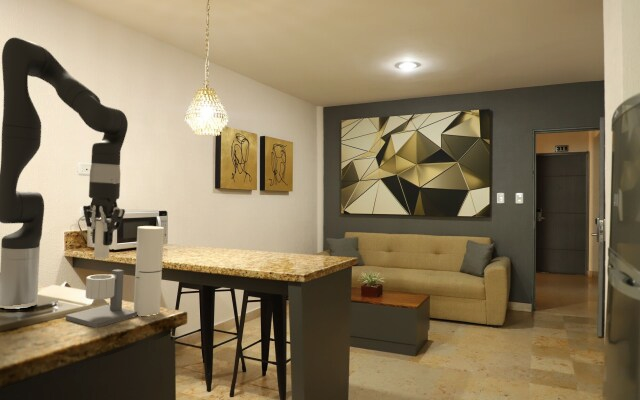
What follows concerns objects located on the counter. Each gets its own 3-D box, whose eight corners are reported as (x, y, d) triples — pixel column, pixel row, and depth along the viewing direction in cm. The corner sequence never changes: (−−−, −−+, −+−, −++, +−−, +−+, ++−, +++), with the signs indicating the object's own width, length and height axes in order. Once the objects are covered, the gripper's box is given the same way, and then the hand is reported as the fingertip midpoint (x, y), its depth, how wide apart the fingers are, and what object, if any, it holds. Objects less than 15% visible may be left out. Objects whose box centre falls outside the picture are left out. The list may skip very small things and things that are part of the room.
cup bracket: (65, 319, 120) (67, 273, 120) (106, 308, 132) (108, 266, 132) (96, 328, 115) (99, 279, 115) (136, 315, 127) (138, 272, 127)
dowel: (91, 257, 122) (92, 220, 121) (102, 255, 125) (104, 220, 124) (100, 259, 120) (102, 221, 120) (111, 257, 123) (113, 221, 123)
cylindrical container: (150, 317, 126) (155, 229, 126) (128, 314, 128) (132, 227, 127) (164, 311, 133) (168, 227, 133) (142, 308, 135) (147, 225, 134)
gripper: (74, 179, 121) (71, 242, 122) (111, 182, 115) (108, 248, 116) (98, 180, 128) (96, 240, 129) (135, 182, 122) (132, 245, 123)
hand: (102, 243), depth 122 cm, fingers closed on dowel, 3 cm apart
